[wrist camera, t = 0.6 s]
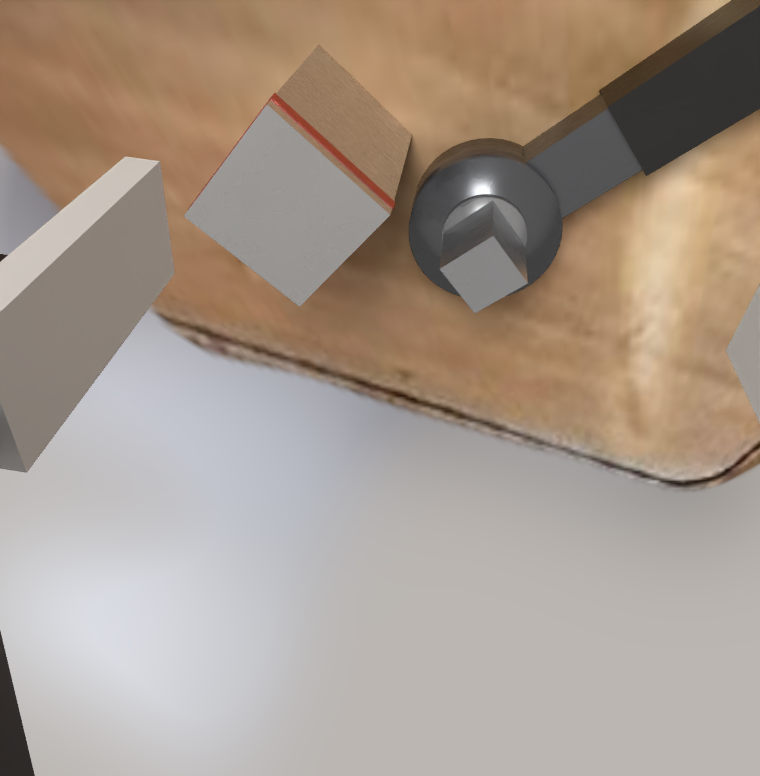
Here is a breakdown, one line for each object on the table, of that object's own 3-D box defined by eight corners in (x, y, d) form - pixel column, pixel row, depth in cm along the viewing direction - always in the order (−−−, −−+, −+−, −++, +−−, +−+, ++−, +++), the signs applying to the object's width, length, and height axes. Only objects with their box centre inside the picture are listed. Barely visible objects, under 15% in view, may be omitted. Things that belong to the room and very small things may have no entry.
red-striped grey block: (246, 138, 37) (182, 216, 29) (318, 43, 33) (266, 102, 25) (337, 216, 39) (299, 307, 31) (413, 135, 35) (392, 214, 28)
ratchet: (465, 295, 41) (461, 369, 35) (385, 194, 38) (366, 257, 32) (875, 56, 30) (965, 104, 25) (816, -116, 27) (905, -106, 21)
